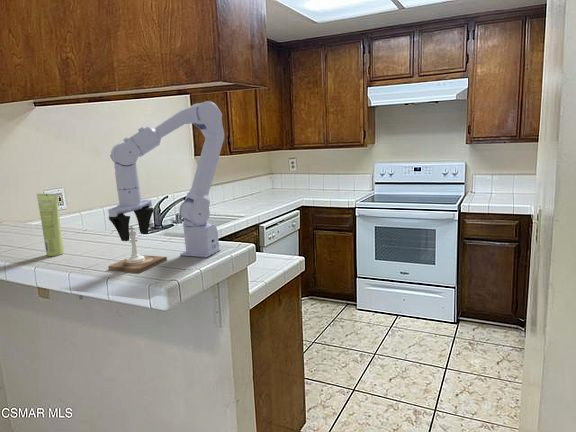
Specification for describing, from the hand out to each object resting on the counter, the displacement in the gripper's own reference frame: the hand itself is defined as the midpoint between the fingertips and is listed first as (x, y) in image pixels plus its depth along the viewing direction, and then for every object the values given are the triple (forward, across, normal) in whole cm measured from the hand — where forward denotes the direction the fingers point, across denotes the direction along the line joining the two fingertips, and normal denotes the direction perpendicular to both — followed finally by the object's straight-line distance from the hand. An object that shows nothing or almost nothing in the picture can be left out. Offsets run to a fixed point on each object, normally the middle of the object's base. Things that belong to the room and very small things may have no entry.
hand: (135, 237), depth 121 cm
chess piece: (+7, 0, -1) cm, 7 cm away
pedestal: (+8, 0, 0) cm, 8 cm away
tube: (+8, -3, -36) cm, 37 cm away
